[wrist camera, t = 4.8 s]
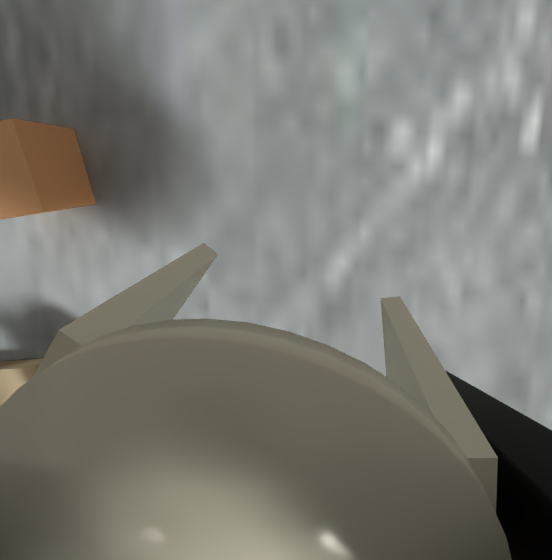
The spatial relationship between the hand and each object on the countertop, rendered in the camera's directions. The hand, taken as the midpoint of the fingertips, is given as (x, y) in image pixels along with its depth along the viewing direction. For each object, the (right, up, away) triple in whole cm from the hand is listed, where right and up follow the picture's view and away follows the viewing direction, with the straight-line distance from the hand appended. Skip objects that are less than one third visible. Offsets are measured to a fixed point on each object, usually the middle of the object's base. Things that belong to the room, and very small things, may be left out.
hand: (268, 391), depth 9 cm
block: (-12, +9, +11) cm, 19 cm away
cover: (0, +1, +2) cm, 2 cm away
